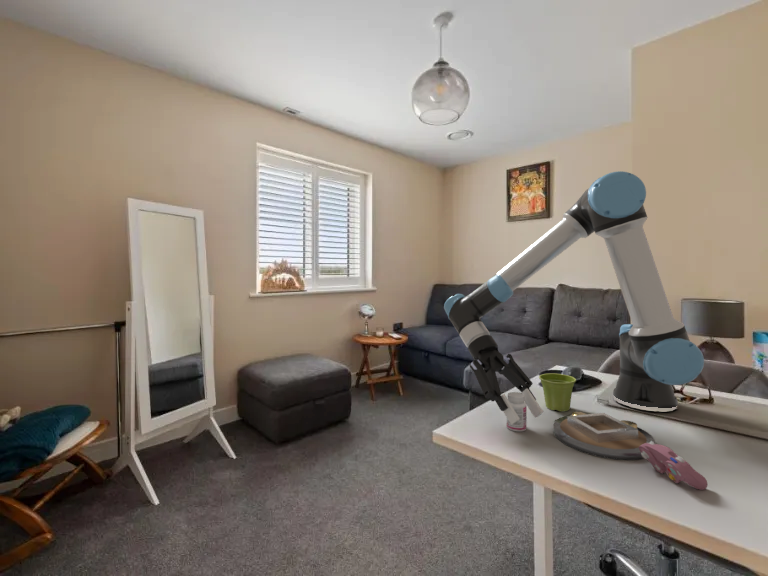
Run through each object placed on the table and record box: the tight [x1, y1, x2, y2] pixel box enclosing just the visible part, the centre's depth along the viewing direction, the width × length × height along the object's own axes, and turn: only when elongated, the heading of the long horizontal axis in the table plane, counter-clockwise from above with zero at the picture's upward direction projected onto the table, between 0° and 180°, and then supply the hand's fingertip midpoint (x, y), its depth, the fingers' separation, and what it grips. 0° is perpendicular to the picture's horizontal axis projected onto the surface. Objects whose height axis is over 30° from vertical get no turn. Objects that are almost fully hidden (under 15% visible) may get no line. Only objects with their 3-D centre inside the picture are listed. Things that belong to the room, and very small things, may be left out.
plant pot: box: [538, 373, 577, 412], centre depth 102 cm, size 9×9×9 cm
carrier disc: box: [552, 411, 656, 461], centre depth 83 cm, size 20×20×4 cm
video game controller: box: [639, 441, 709, 491], centre depth 67 cm, size 10×5×7 cm, turn 5°
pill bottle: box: [505, 391, 528, 432], centre depth 89 cm, size 5×5×8 cm
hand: (527, 418), depth 86 cm, fingers open, 8 cm apart
